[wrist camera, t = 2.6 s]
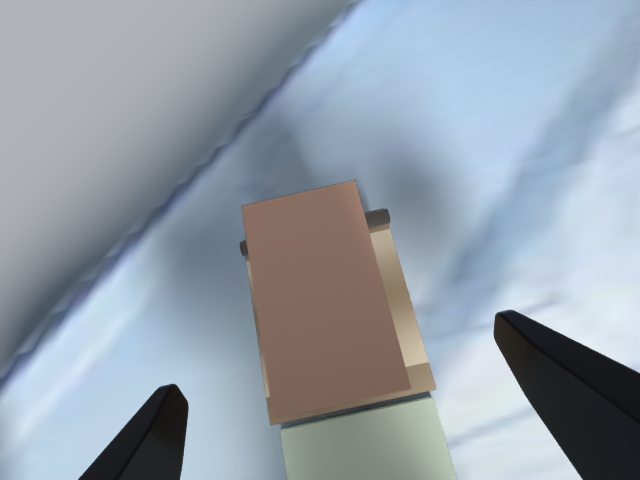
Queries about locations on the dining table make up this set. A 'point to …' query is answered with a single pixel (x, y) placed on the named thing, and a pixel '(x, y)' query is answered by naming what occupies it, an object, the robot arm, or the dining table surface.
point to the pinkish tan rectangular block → (321, 301)
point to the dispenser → (399, 310)
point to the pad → (370, 445)
